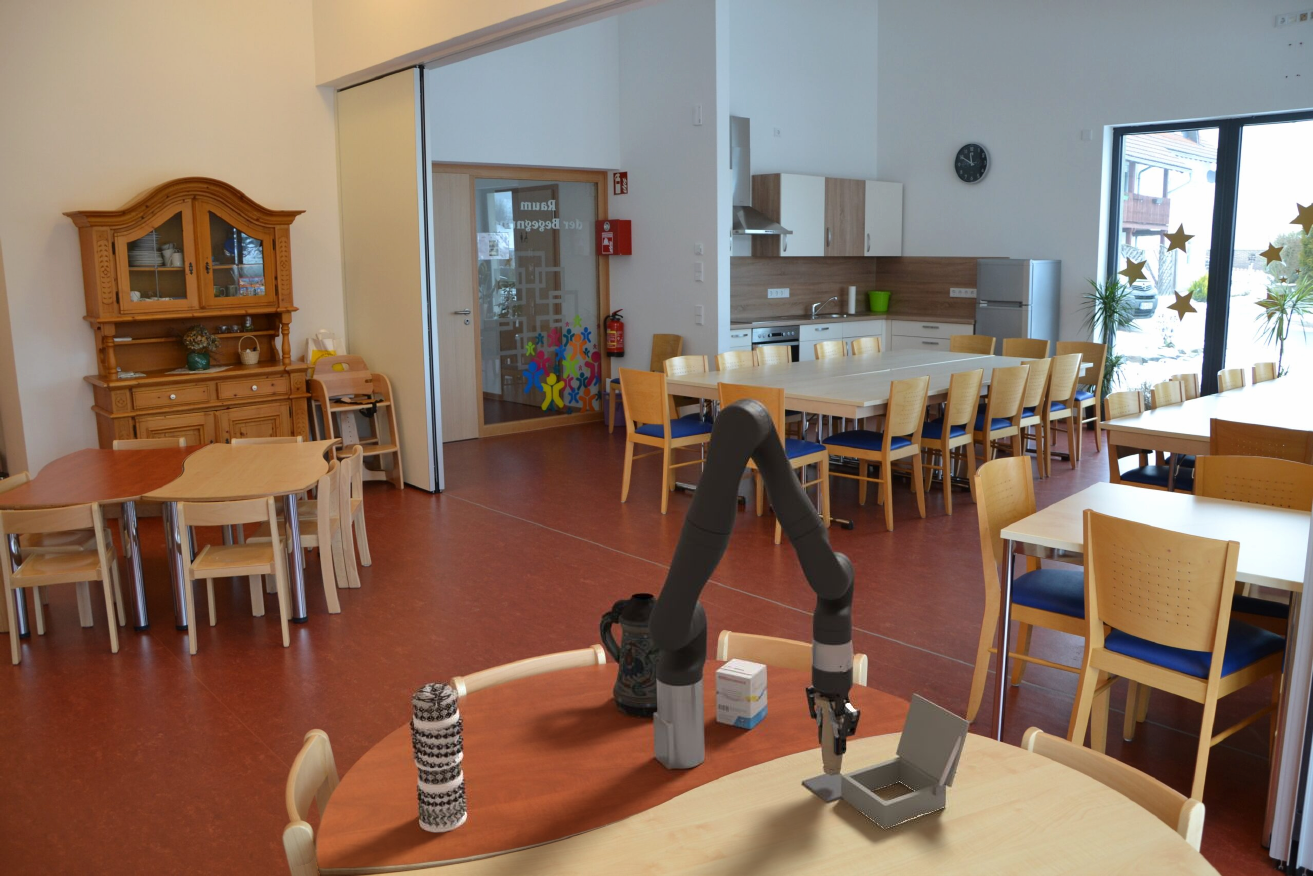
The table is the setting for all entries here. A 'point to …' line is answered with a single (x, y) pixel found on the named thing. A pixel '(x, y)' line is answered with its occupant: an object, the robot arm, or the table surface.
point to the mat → (825, 786)
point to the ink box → (741, 693)
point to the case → (912, 766)
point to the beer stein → (633, 655)
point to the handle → (828, 739)
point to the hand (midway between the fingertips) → (832, 748)
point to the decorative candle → (438, 758)
